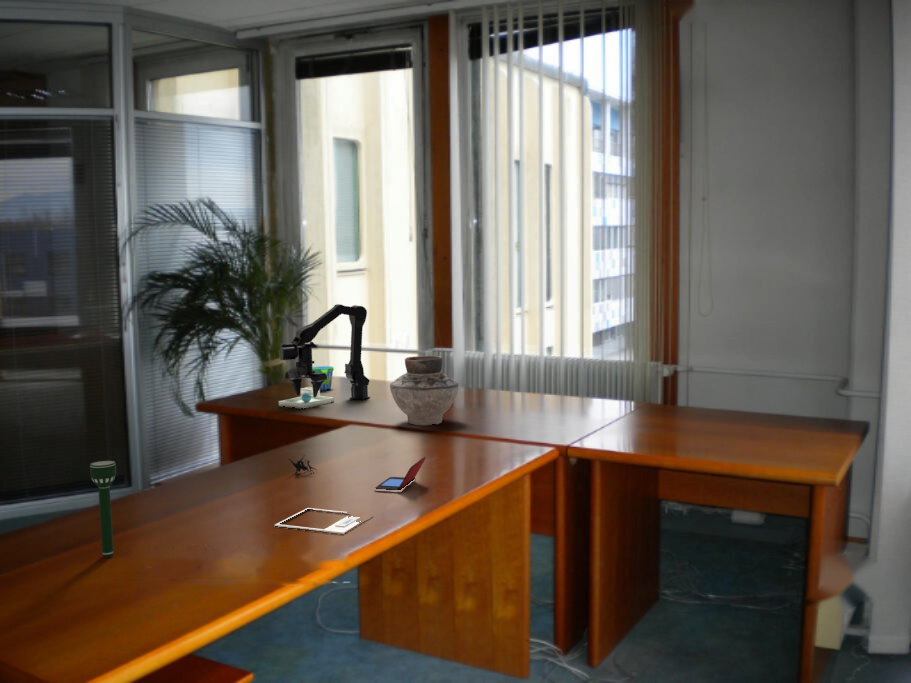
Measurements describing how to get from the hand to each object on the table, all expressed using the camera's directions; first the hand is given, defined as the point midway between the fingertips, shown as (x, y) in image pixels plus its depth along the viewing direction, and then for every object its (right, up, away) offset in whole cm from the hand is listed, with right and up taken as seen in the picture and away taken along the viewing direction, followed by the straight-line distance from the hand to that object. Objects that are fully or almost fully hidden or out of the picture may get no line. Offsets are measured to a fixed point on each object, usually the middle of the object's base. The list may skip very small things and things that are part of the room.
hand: (306, 396), depth 376 cm
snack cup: (+1, +1, +39) cm, 39 cm away
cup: (-1, -2, +17) cm, 17 cm away
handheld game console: (+47, -17, -132) cm, 141 cm away
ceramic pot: (+50, -7, -43) cm, 67 cm away
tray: (0, -3, 0) cm, 3 cm away
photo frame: (+31, -20, -163) cm, 167 cm away
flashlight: (-11, -23, -185) cm, 186 cm away
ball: (0, -2, 0) cm, 2 cm away
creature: (+19, -15, -117) cm, 120 cm away
